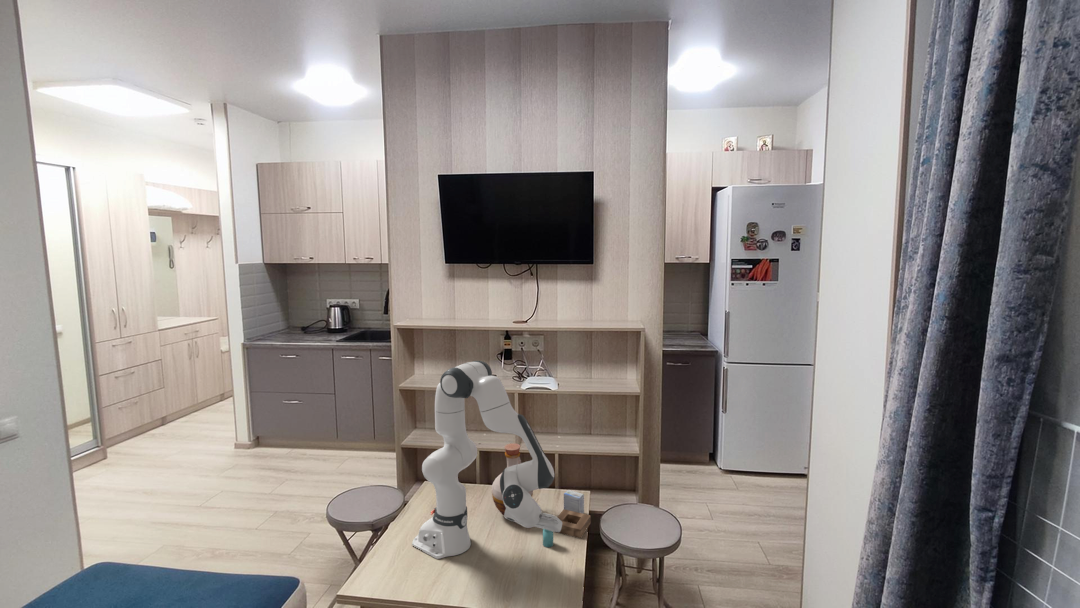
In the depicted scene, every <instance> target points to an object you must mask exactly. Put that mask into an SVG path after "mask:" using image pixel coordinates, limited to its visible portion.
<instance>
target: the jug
mask: <svg viewBox="0 0 1080 608" xmlns="http://www.w3.org/2000/svg"><path fill="white" fill-rule="evenodd" d="M520 449H521V445H520V444H518V443H516V442H512V443H510V442H509V443H507V444H505V445H504V457H505V458H506V468H507V467H510V466H513V465H517V464H521V463H522V460H521V457H520V455H521V452H520ZM501 475H502V472H501V473H500V474H499V475H498V476H497V477H495V479H494V481H493V482H492V485H491V497H492V500H493V503H494V505H495V508H496V509H497V510H498V512H500V514H501V515H502V516H503V517H504V514H505V510H506V507H505V505H504V502H503V497H502V493H501V489H500V477H501ZM528 493H529V494H530V495H531V496H532V497H533V495H534V490H532V491H529V492H528Z"/></svg>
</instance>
